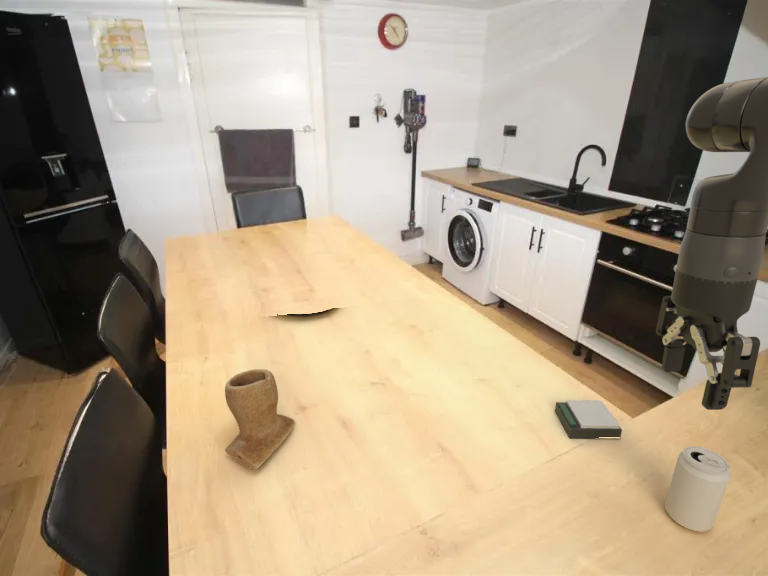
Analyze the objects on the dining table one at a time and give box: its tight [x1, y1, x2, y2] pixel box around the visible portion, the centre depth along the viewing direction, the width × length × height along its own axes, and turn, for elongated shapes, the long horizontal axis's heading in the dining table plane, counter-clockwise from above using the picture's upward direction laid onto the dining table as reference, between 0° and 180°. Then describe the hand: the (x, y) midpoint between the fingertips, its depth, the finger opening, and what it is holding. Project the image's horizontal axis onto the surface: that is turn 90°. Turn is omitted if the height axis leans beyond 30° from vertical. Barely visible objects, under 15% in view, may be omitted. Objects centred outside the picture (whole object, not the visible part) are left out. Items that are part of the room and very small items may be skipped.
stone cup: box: [224, 368, 296, 470], centre depth 82 cm, size 15×12×15 cm
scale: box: [554, 399, 623, 440], centre depth 87 cm, size 10×9×3 cm
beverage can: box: [664, 445, 731, 533], centre depth 64 cm, size 6×6×12 cm
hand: (689, 387), depth 53 cm, fingers open, 8 cm apart
